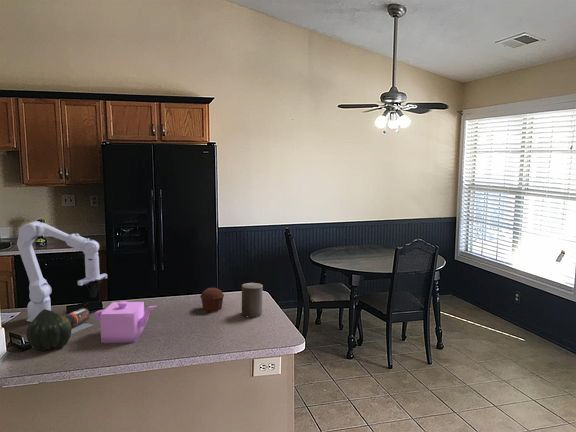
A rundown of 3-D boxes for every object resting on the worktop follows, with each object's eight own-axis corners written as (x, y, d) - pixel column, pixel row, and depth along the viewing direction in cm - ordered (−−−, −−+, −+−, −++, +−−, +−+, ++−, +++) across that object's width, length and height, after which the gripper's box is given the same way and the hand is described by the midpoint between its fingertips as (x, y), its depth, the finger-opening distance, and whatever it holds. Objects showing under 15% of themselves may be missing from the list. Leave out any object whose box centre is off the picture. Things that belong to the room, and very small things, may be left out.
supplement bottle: (91, 320, 198) (72, 330, 188) (80, 320, 200) (60, 329, 189) (89, 307, 198) (70, 316, 187) (78, 307, 199) (59, 315, 189)
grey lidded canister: (243, 318, 204) (243, 286, 202) (240, 311, 213) (240, 280, 211) (264, 316, 206) (264, 285, 204) (260, 310, 215) (260, 279, 214)
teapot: (153, 342, 177) (152, 307, 175) (88, 343, 176) (86, 308, 174) (161, 327, 192) (160, 296, 190) (101, 329, 191) (100, 297, 189)
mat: (36, 331, 188) (36, 330, 188) (67, 320, 201) (67, 319, 201) (62, 337, 181) (62, 336, 181) (93, 325, 194) (93, 324, 194)
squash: (65, 340, 164) (67, 302, 172) (19, 346, 160) (23, 307, 168) (73, 353, 176) (74, 317, 184) (30, 359, 172) (33, 322, 180)
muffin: (205, 304, 223) (204, 284, 222) (226, 305, 222) (226, 285, 221) (197, 312, 212) (196, 291, 211) (219, 313, 210) (219, 292, 209)
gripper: (85, 272, 194) (86, 302, 195) (111, 265, 207) (112, 294, 208) (73, 270, 197) (75, 300, 198) (100, 263, 210) (101, 292, 211)
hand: (93, 297), depth 203 cm, fingers closed
